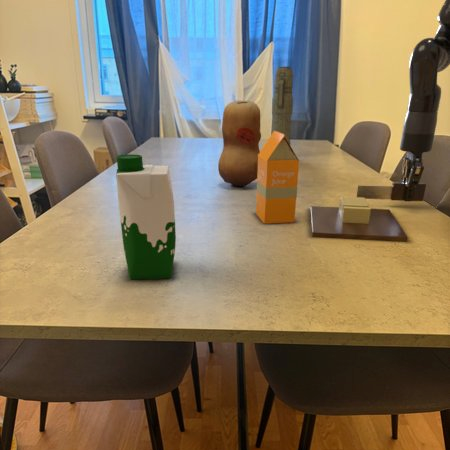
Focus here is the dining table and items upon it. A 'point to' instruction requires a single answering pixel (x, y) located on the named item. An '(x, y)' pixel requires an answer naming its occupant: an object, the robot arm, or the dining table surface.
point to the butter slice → (356, 215)
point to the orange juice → (277, 181)
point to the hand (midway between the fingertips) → (406, 199)
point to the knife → (390, 192)
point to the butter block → (351, 203)
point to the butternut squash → (240, 143)
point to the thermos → (282, 101)
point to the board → (356, 225)
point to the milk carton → (146, 217)
